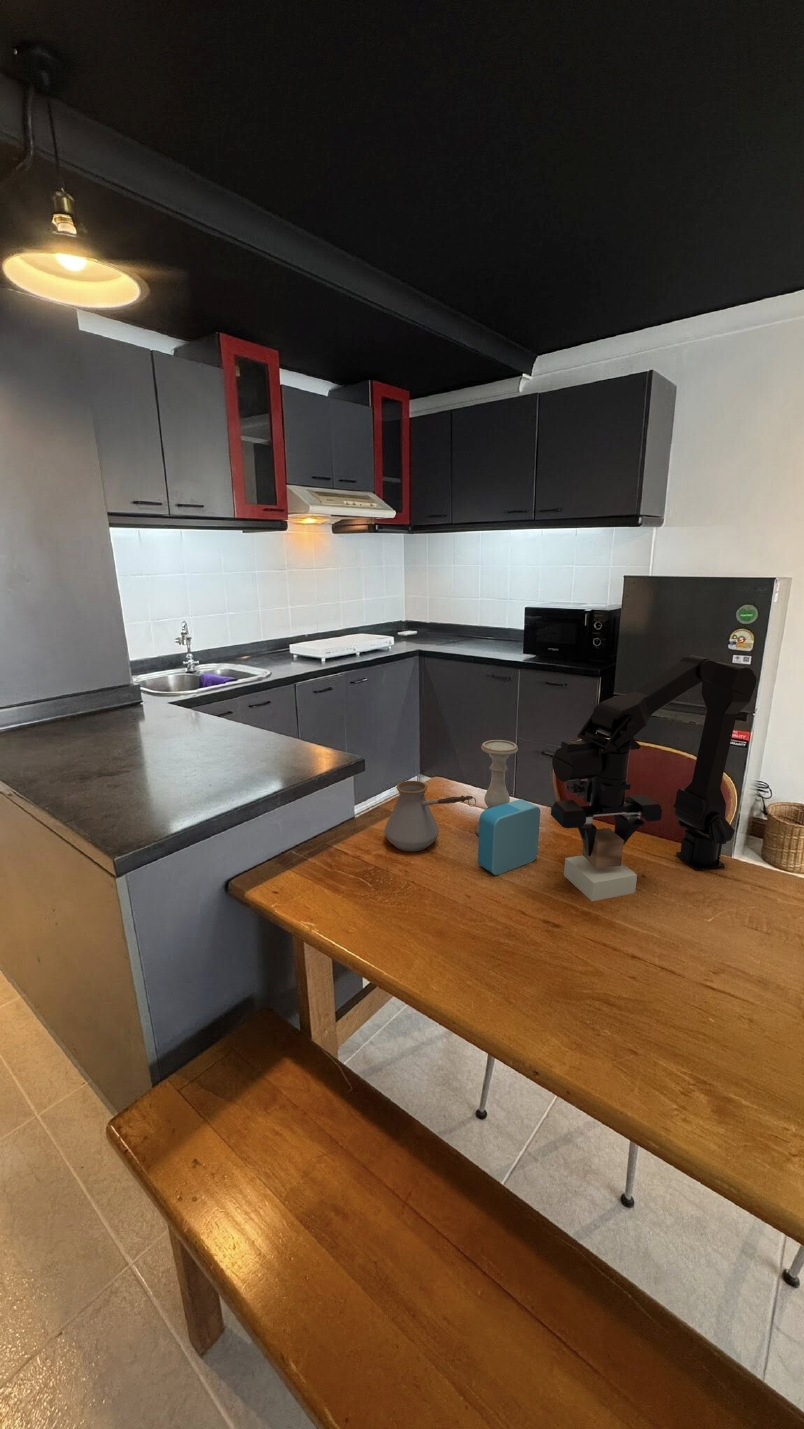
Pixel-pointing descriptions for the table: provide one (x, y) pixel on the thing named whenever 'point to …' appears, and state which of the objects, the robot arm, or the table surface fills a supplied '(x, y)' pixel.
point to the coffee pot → (414, 817)
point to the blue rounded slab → (508, 836)
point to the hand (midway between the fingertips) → (601, 853)
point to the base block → (599, 879)
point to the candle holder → (497, 772)
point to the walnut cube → (606, 849)
